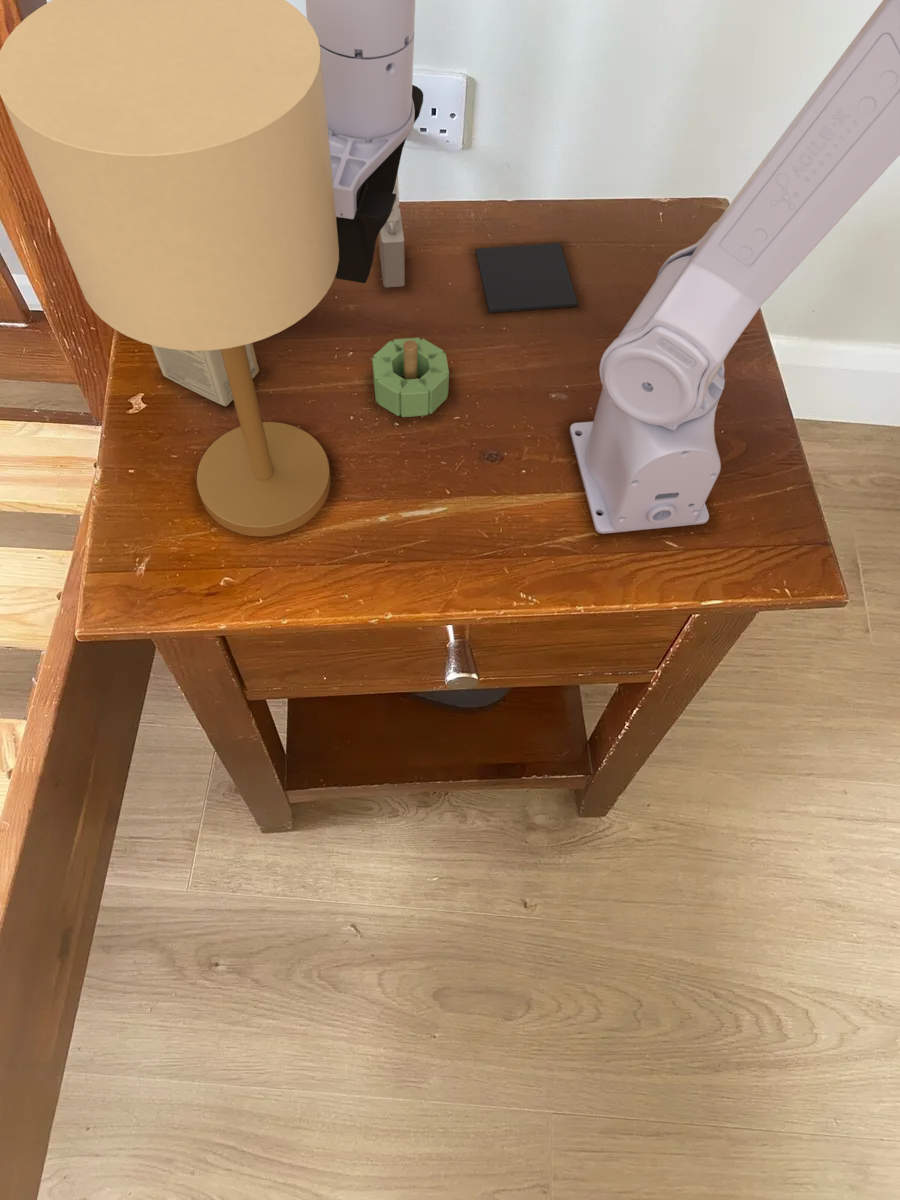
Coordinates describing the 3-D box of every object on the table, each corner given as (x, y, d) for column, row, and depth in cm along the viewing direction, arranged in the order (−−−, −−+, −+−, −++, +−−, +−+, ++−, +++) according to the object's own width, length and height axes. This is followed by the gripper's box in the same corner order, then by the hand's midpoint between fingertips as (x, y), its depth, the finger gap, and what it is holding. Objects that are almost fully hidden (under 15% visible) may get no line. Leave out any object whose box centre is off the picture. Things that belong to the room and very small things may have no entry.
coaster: (577, 306, 71) (577, 303, 71) (488, 312, 70) (489, 310, 70) (559, 245, 74) (560, 242, 74) (475, 251, 74) (475, 248, 73)
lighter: (405, 286, 71) (403, 198, 64) (383, 287, 71) (380, 199, 64) (397, 227, 75) (395, 138, 68) (376, 228, 75) (372, 139, 68)
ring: (451, 413, 65) (452, 390, 63) (378, 419, 65) (376, 396, 62) (441, 359, 68) (442, 335, 65) (371, 365, 67) (369, 340, 65)
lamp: (367, 552, 59) (331, 145, 34) (169, 571, 58) (-24, 164, 32) (351, 404, 65) (311, -34, 40) (171, 418, 64) (12, -24, 39)
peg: (425, 398, 66) (426, 353, 62) (398, 400, 66) (397, 356, 62) (422, 378, 67) (422, 333, 63) (396, 380, 66) (394, 335, 63)
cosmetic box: (261, 372, 66) (232, 235, 56) (225, 411, 64) (187, 276, 54) (194, 339, 68) (153, 199, 57) (156, 376, 66) (107, 238, 55)
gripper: (318, -56, 51) (329, 158, 63) (252, 95, 44) (278, 303, 56) (439, -35, 51) (426, 175, 63) (391, 120, 44) (387, 323, 56)
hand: (363, 237), depth 59 cm, fingers open, 7 cm apart
